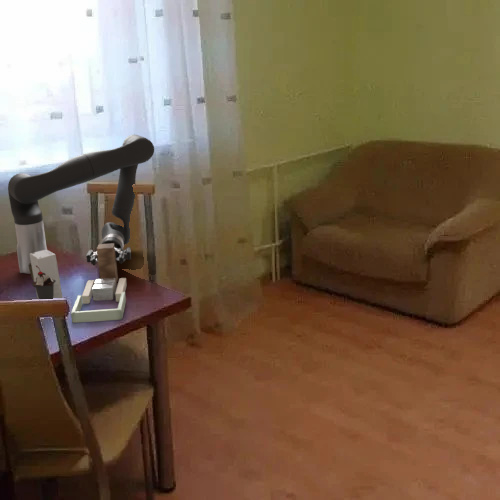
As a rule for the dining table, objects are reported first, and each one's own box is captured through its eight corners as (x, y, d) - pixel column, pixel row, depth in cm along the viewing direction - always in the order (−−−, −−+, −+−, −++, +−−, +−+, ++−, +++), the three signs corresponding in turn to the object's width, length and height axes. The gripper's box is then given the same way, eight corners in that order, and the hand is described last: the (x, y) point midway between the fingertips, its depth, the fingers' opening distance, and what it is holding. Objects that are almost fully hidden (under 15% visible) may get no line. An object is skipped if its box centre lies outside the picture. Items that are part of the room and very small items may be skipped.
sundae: (38, 311, 225) (31, 263, 221) (61, 309, 226) (55, 261, 221) (34, 320, 219) (27, 270, 215) (58, 318, 220) (51, 269, 215)
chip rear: (95, 295, 237) (94, 283, 235) (97, 290, 240) (96, 278, 239) (114, 294, 237) (113, 282, 235) (116, 289, 240) (115, 277, 239)
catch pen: (72, 322, 216) (70, 313, 215) (79, 304, 229) (77, 295, 228) (121, 319, 216) (120, 309, 216) (126, 301, 230) (125, 292, 229)
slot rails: (82, 303, 230) (81, 296, 229) (88, 287, 243) (87, 280, 242) (122, 301, 230) (122, 293, 229) (126, 285, 244) (125, 277, 243)
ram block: (100, 284, 245) (96, 248, 242) (102, 279, 250) (98, 244, 247) (116, 283, 246) (112, 247, 242) (117, 278, 250) (114, 243, 247)
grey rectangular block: (93, 301, 232) (91, 288, 231) (95, 296, 236) (94, 284, 234) (113, 300, 232) (111, 287, 231) (115, 295, 236) (113, 283, 234)
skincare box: (63, 300, 233) (57, 254, 228) (44, 305, 230) (37, 258, 225) (53, 293, 240) (48, 248, 235) (35, 297, 236) (28, 252, 232)
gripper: (89, 237, 259) (83, 252, 243) (131, 234, 259) (128, 249, 244) (92, 258, 261) (85, 274, 245) (133, 255, 262) (130, 271, 246)
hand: (107, 261), depth 245 cm, fingers open, 8 cm apart
